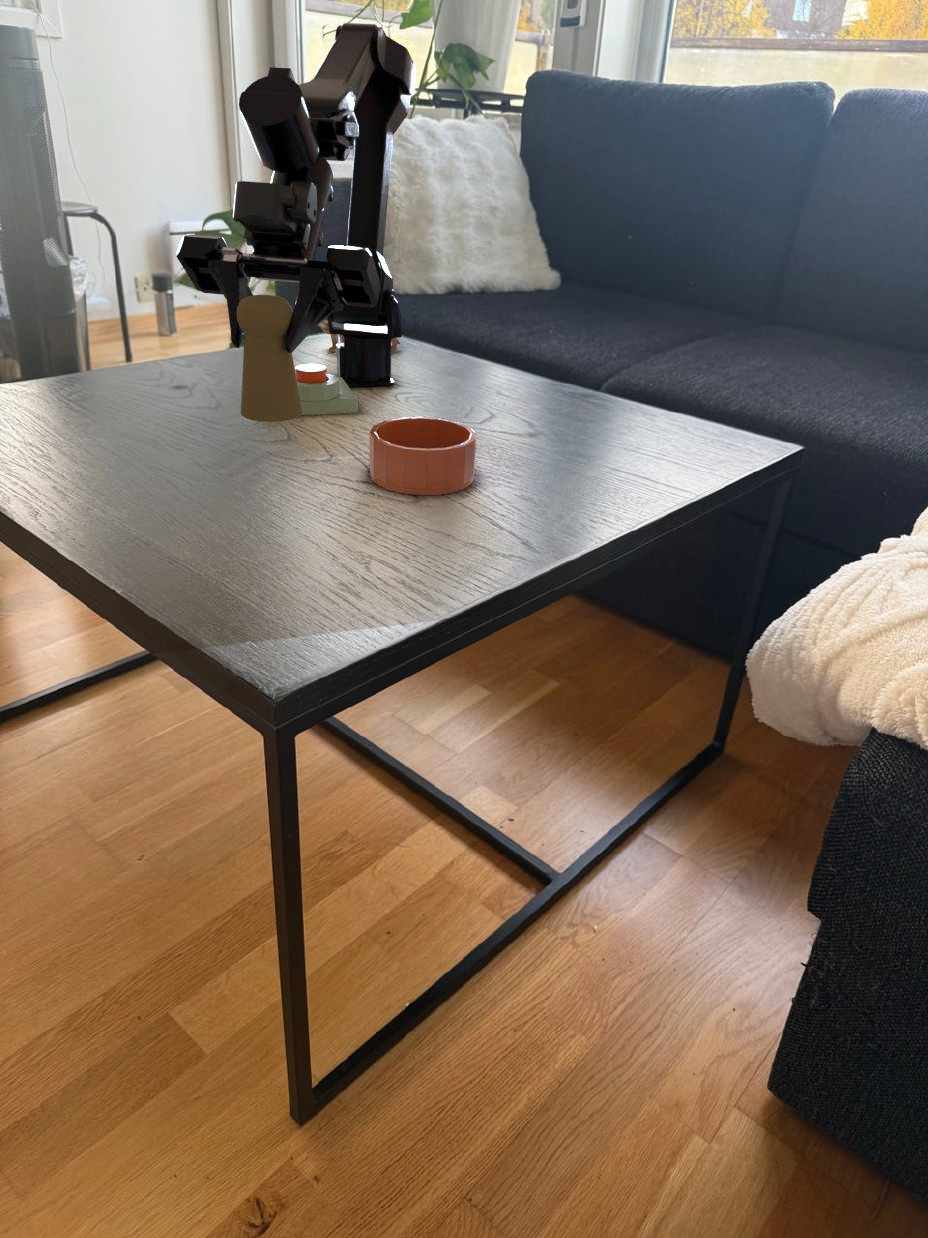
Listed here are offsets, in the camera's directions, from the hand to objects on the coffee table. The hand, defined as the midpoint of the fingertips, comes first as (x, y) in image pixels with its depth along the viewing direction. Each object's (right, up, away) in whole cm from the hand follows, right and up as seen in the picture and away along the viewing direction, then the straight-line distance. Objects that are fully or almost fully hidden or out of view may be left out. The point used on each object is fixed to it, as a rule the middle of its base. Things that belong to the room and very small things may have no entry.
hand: (261, 347), depth 83 cm
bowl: (+15, -11, +6) cm, 19 cm away
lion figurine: (+3, +14, +50) cm, 52 cm away
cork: (0, -5, +5) cm, 7 cm away
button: (+1, +3, +23) cm, 23 cm away
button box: (0, +1, +26) cm, 26 cm away
